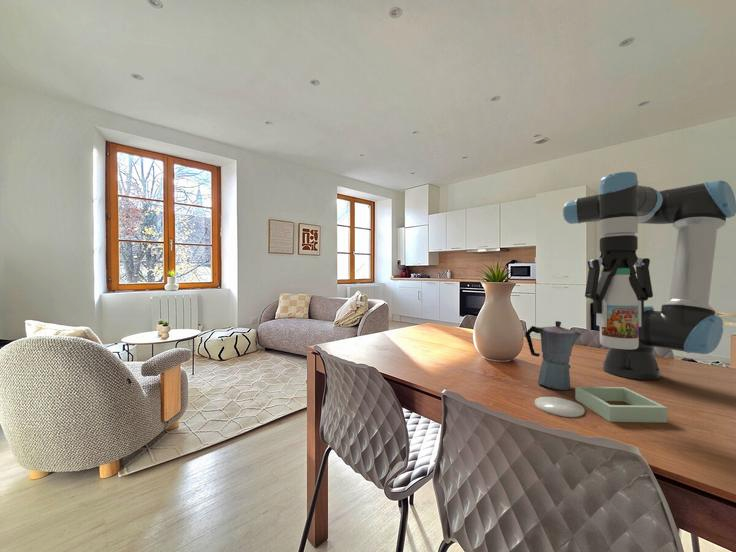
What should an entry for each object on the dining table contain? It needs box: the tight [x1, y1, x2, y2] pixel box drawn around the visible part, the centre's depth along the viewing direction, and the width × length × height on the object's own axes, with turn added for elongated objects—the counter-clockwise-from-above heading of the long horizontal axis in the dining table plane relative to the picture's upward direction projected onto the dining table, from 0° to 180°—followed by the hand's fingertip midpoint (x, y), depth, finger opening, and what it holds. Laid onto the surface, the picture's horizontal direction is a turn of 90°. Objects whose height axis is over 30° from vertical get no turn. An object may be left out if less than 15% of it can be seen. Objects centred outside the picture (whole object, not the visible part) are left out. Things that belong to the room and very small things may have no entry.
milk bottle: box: [599, 268, 639, 349], centre depth 80 cm, size 8×8×20 cm
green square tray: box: [574, 386, 668, 423], centre depth 80 cm, size 13×13×4 cm
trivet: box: [534, 396, 585, 418], centre depth 81 cm, size 11×11×1 cm
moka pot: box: [524, 320, 582, 391], centre depth 97 cm, size 10×15×20 cm, turn 78°
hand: (618, 325), depth 80 cm, fingers closed on milk bottle, 8 cm apart
